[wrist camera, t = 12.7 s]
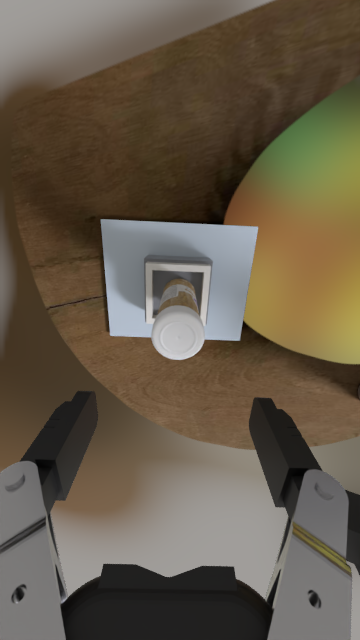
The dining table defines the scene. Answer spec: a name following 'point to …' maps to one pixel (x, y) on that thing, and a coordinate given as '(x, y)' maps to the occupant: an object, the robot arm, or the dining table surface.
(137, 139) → the dining table surface
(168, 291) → the sprinkles bottle
